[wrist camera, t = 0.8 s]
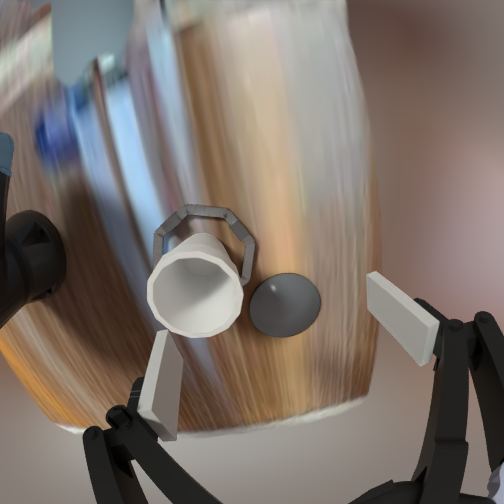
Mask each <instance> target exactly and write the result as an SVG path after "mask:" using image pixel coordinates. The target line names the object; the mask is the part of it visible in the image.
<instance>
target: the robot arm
mask: <svg viewBox="0 0 504 504" xmlns="http://www.w3.org/2000/svg"><path fill="white" fill-rule="evenodd" d="M13 152H14V142H13V139H12V137H11V136H10V135H9V134H7V133H4V132H0V329H1V328H2V327H3V326H4V325H5V324H6V323H7V321H8V320H9V319H10V318H11V317H13V316H14V315H15V314H16V313H17V312H18V311H19V310H20V309H21V308H22V307H23V306H24V305H25V304H29V303H33V302H36V301H40V300H44V299H46V298H48V297H50V296H51V295H52V294H53V293H55V292H56V291H57V290H58V289H59V288H60V286H61V285H62V283H63V280H64V277H65V272H66V257H65V251H64V247H63V244H62V241H61V238H60V236H59V234H58V232H57V230H56V229H55V227H54V226H53V224H52V223H51V222H50V221H49V220H48V219H47V218H46V217H45V216H44V215H42V214H41V213H39V212H36V211H33V210H26V211H23V212H20V213H17V214H15V215H13V216H12V217H10V218H9V219H8V220H7V221H6V209H7V199H8V190H9V182H10V177H11V176H12V172H11V165H12V158H13ZM366 279H367V309H368V310H369V311H370V312H371V313H372V314H373V315H374V317H375V318H376V319H377V320H378V321H379V322H380V323H381V324H382V325H383V326H384V327H385V328H386V329H387V330H388V331H389V333H390V334H391V335H392V336H393V337H394V338H395V339H396V340H397V341H398V342H399V343H400V345H401V346H402V347H403V348H404V349H405V350H406V351H407V352H408V353H409V355H411V357H412V358H413V359H414V360H415V361H416V362H417V363H418V365H419V366H420V367H421V366H423V365H425V364H427V363H428V362H430V361H431V359H432V355H433V354H435V356H436V357H437V358H436V362H435V365H434V369H433V370H434V371H435V375H434V384H433V392H432V399H431V406H430V412H429V418H428V423H427V428H426V433H425V437H424V442H423V446H422V450H421V454H420V458H419V461H418V465H417V467H416V470H415V472H414V474H413V476H412V479H411V481H401V482H396V483H393V480H390V481H388V482H386V483H384V484H382V485H379V486H377V487H375V488H373V489H370V490H368V491H367V492H366V493H364V494H363V495H361V496H360V497H358V498H357V499H355V500H354V501H352V502H350V503H349V504H504V336H503V334H502V332H501V330H500V328H499V327H498V325H497V322H496V321H495V319H494V317H493V316H492V315H491V314H490V313H488V312H485V311H480V312H477V313H476V314H475V317H474V321H470V322H467V323H463V322H462V321H460V320H458V319H450V320H449V319H447V318H446V317H445V316H444V315H442V314H441V313H440V312H439V311H437V310H436V309H434V308H433V307H432V306H430V304H428V303H427V302H426V301H425V300H422V299H419V298H415V299H413V300H412V299H411V298H410V297H409V296H407V295H406V294H405V293H404V292H402V291H401V290H400V289H398V288H397V287H396V286H395V285H393V284H392V283H391V282H389V281H388V280H387V279H385V278H384V277H383V276H382V275H380V274H379V273H378V272H376V271H375V272H372V273H369V274H366ZM183 362H184V360H183V358H182V356H181V354H180V352H179V350H178V348H177V346H176V344H175V342H174V340H173V338H172V336H171V334H170V332H169V330H168V329H166V330H161V331H157V335H156V338H155V342H154V345H153V349H152V352H151V356H150V360H149V363H148V367H147V371H146V375H145V377H139V378H137V380H136V381H135V382H134V384H133V386H132V390H131V393H130V398H129V401H128V404H127V407H125V406H124V405H116V406H114V407H112V408H111V409H110V410H108V412H107V414H106V422H107V423H108V424H109V425H110V426H111V427H112V428H110V429H107V430H102V429H101V428H100V427H98V426H91V427H89V428H87V429H86V430H85V431H84V433H83V445H84V450H85V455H86V461H87V466H88V471H89V474H90V479H91V483H92V487H93V491H94V495H95V498H96V502H97V504H148V501H147V499H146V497H145V495H144V493H143V490H142V488H141V486H140V484H139V481H138V479H137V476H136V474H135V471H134V469H133V466H132V464H131V460H134V459H135V460H136V461H137V462H138V464H139V465H140V466H141V468H142V469H143V470H144V471H145V473H146V474H147V475H148V476H149V477H150V479H151V480H152V481H153V482H154V483H155V485H156V486H157V487H158V488H159V489H160V490H161V491H162V493H164V495H165V496H166V497H167V498H168V499H169V500H170V501H171V502H172V503H173V504H223V503H222V502H220V501H219V500H218V499H217V498H215V497H214V496H213V495H212V494H211V493H209V492H208V491H207V490H206V489H205V488H204V487H202V486H201V485H200V484H199V483H198V482H197V481H196V480H194V479H193V478H192V477H191V476H190V475H189V474H188V473H187V472H186V471H185V470H184V469H183V468H182V467H181V466H180V465H179V464H178V463H177V462H176V461H175V460H174V459H173V458H172V457H171V456H170V455H169V454H168V453H167V452H166V451H165V450H164V449H163V448H162V447H161V446H160V445H159V444H158V443H157V441H158V437H159V438H160V439H161V440H162V441H176V440H177V426H178V413H179V401H180V391H181V381H182V371H183ZM468 366H469V367H468ZM469 370H470V373H471V376H472V379H473V383H474V387H475V390H476V394H477V398H478V402H479V407H480V411H481V416H482V420H483V426H484V431H485V437H486V444H487V451H488V458H489V465H490V468H491V472H492V474H491V476H490V479H489V483H488V485H487V489H488V491H489V495H488V497H482V496H475V495H469V494H464V493H460V489H461V485H462V481H463V476H464V472H465V466H466V460H467V455H468V446H469V445H468V442H466V440H465V437H466V427H467V416H468V397H469V396H468V395H469Z"/></svg>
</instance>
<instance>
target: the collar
mask: <svg viewBox="0 0 504 504" xmlns="http://www.w3.org/2000/svg"><path fill="white" fill-rule="evenodd" d="M188 214H191V215H202V216H212V217H222V218H225V220H226V221H227V222H228V223H229V227H230V229H231V230H232V231H233V232H234V234H235V235H236V236H237V237H238V238H239V240H240V241H242V240H243V242H244V243H245V250H244V258H243V266H242V273H241V275H240V276H239V277H240V280H241V283H242V286H244V285H245V284H246V283H248V282H249V280H250V276H251V269H252V263H253V256H254V249H255V241H254V239H253V238H252V236H251V235H250V234H249V232H248V230H247V229H246V228H245V226H244V225H243V224H242V223H241V221H240V220H239V219H238V218H237V217H236V216H235V215H234V214H233V213H232V211H231V210H230V209H229V210H228V208H224V207H215V206H204V205H194V204H187V205H184V206H183V207H182V208H181V209H180V210H178V211H176V212H175V213H174V214H173V215H172V216H170V217H169V218H168V219H167V220H166V221H165V222H164V223H163V224H162V225H160V227H159V228H158V229H157V230H156V231H155V233H154V246H153V271H154V269H155V267H156V266H157V264H158V262H159V261H160V259H161V258H162V256H163V241H164V235H165V234H166V233H167V234H168V233H169V232H170V231H171V230H172V229H173V228H175V227H176V226H177V225H178V224H179V223H180V222H181V221H182V220H183V218H184V217H186V216H187V215H188Z"/></svg>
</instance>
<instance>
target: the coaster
mask: <svg viewBox="0 0 504 504" xmlns="http://www.w3.org/2000/svg"><path fill="white" fill-rule="evenodd" d="M319 307H320V297H319V293H318V291H317V289H316V287H315V286H314V285H313V283H312V282H311V281H310V280H309V279H307V278H306V277H304V276H302V275H299V274H295V273H282V274H277V275H274V276H272V277H270V278H268V279H266V280H265V281H263V282H262V283H261V284H260V285H259V286H258V287H257V288H256V290H255V291H254V293H253V295H252V297H251V299H250V305H249V311H250V316H251V319H252V322H253V324H254V325H255V326H256V328H257V329H258V330H260V331H261V332H262V333H264V334H266V335H269V336H272V337H289V336H293V335H295V334H298V333H300V332H302V331H303V330H305V329H306V328H307V327H308V326H309V325H310V324H311V323H312V322H313V321H314V319H315V318H316V316H317V314H318V311H319Z"/></svg>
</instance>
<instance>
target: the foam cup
mask: <svg viewBox="0 0 504 504" xmlns="http://www.w3.org/2000/svg"><path fill="white" fill-rule="evenodd" d="M243 295H244V294H243V288H242V283H241V280H240V277H239V274H238V271H237V268H236V265H235V264H234V263H233V262H232V261H231V260H230V258H229V256H228V254H227V252H226V250H225V248H224V246H223V244H222V243H221V242H220V241H219V240H218V239H217V238H216V237H215V236H213V235H210V234H207V233H199V234H194V235H193V236H191V237H189V238H187V239H186V240H185V241H183V242H182V243H181V244H180V245H178V246H177V247H176V248H175V249H173V250H171V251H170V252H168V253H166V254H165V255H163V256H162V258H161V259H160V261H159V262H158V264H157V266H156V267H155V269H154V271H153V272H152V274H151V276H150V278H149V279H148V281H147V302H148V304H149V306H150V308H151V310H152V312H153V314H154V316H155V318H156V319H157V320H158V321H159V322H160V323H162V324H163V325H164V326H165V327H166V328H168V329H169V330H170V331H171V332H174V333H177V334H180V335H183V336H186V337H189V338H199V337H211V336H213V335H215V334H217V333H220V332H222V331H224V330H226V329H228V328H229V327H230V325H231V324H232V323H233V322H234V320H235V319H236V318H237V317H238V315H239V314H240V311H241V306H242V300H243Z"/></svg>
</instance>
